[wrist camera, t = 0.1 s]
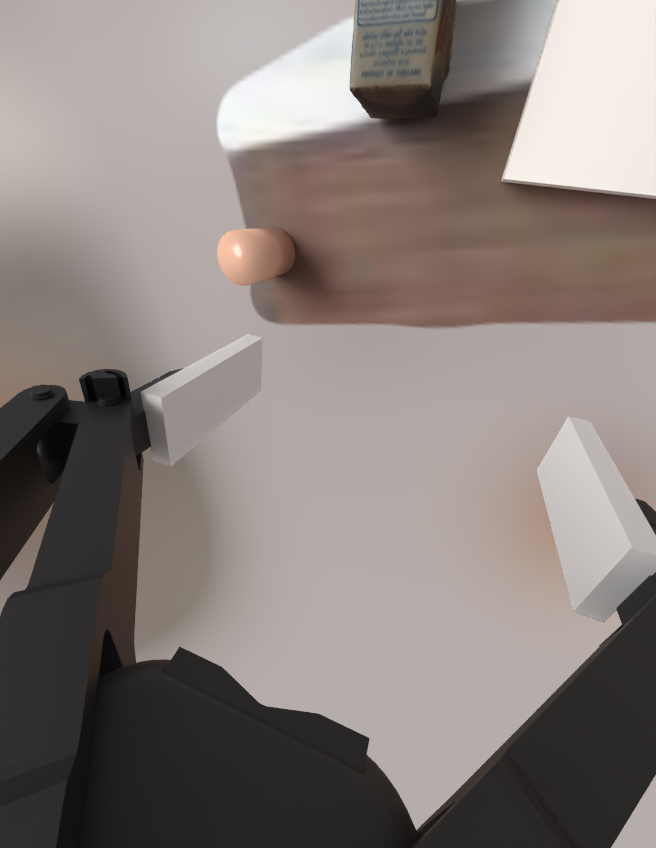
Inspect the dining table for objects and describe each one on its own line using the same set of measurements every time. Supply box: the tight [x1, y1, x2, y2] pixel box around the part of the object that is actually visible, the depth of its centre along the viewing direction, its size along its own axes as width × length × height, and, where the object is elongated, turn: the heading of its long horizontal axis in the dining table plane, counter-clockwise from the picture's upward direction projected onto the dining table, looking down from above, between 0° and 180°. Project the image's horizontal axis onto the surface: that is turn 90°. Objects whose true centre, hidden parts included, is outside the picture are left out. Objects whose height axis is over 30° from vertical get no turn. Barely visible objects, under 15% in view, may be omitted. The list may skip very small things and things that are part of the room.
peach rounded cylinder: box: [217, 228, 295, 286], centre depth 38 cm, size 5×5×8 cm
